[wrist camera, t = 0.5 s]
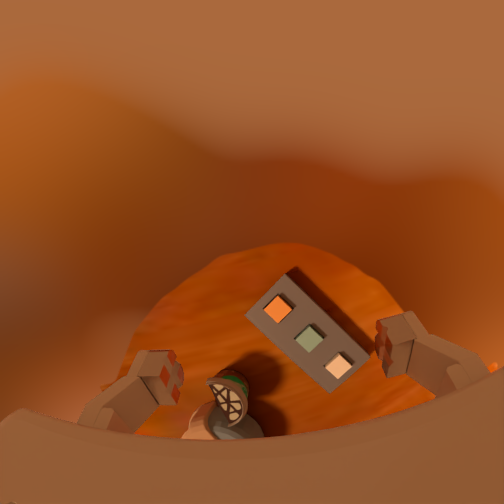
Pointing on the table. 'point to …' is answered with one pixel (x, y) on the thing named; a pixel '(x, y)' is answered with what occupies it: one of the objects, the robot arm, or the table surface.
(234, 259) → the table surface
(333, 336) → the button board
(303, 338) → the olive green button
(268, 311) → the orange button
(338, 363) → the cream button
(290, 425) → the table surface
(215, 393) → the food container
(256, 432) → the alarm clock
